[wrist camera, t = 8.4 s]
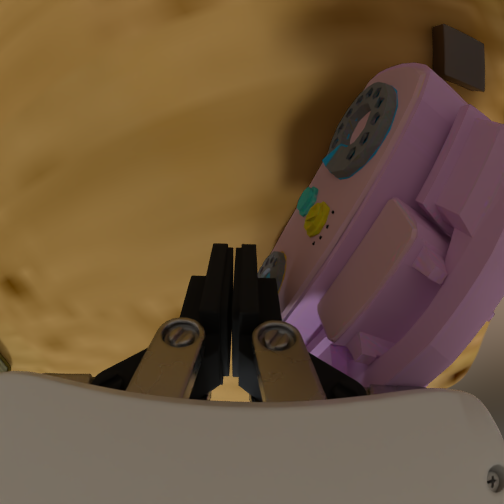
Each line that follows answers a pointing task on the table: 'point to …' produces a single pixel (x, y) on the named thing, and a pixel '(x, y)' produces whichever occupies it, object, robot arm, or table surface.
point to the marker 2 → (458, 58)
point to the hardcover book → (4, 365)
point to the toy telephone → (397, 233)
